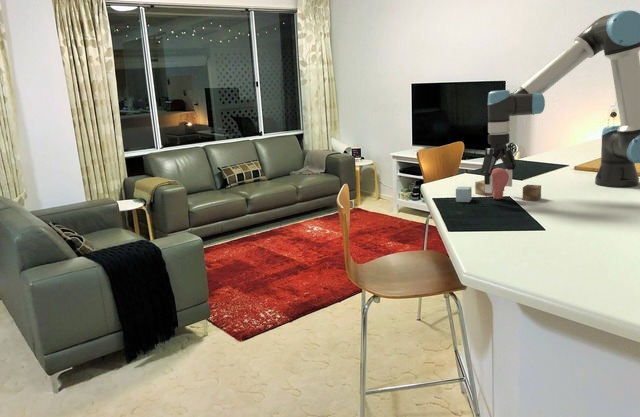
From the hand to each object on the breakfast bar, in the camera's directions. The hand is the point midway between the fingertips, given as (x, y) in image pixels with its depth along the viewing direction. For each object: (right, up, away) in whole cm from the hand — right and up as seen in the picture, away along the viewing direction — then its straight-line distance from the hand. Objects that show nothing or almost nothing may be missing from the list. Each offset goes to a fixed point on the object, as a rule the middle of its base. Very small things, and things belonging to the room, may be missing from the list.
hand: (498, 189), depth 193 cm
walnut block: (+11, -4, -3) cm, 12 cm away
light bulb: (0, -4, +1) cm, 4 cm away
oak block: (-1, -1, +12) cm, 12 cm away
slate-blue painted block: (-12, -4, +4) cm, 13 cm away
